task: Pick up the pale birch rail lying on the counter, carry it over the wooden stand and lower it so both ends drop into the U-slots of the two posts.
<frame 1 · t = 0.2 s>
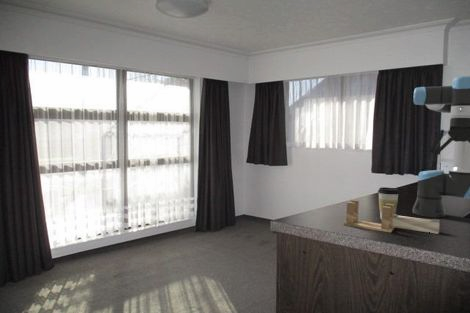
hand: (458, 172, 142), 27 cm above the counter, fingers open, 13 cm apart
wooden stand: (368, 226, 164), on the counter
coffee cup: (387, 219, 180), on the counter
rail: (412, 229, 162), on the counter
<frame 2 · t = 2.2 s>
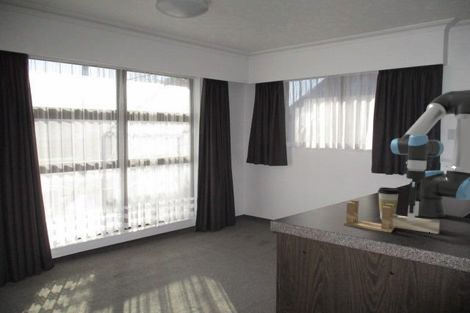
hand: (412, 217, 161), 5 cm above the counter, fingers open, 13 cm apart
nothing on the counter moved.
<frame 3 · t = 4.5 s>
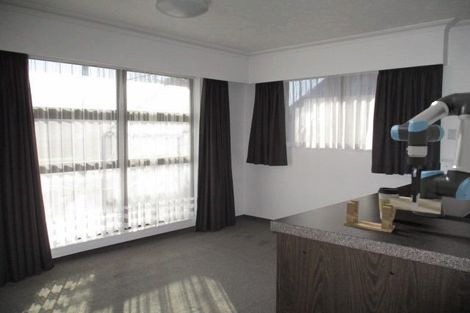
hand: (414, 208, 161), 9 cm above the counter, fingers closed on rail, 4 cm apart
rail: (414, 210, 161), point 8 cm above the counter, touching gripper
everything else where it was.
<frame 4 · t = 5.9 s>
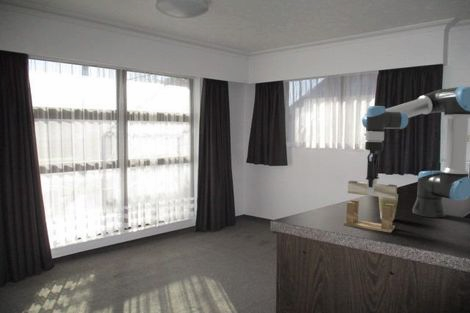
hand: (371, 193, 163), 15 cm above the counter, fingers closed on rail, 4 cm apart
rail: (371, 195, 163), point 14 cm above the counter, touching gripper
everything else where it was.
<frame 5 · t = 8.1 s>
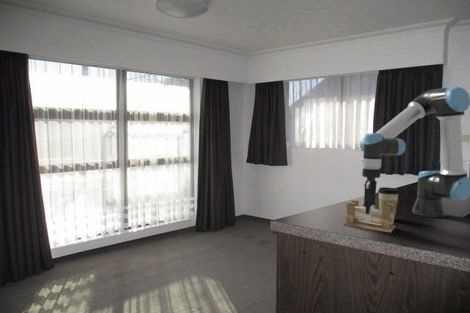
hand: (368, 219, 164), 3 cm above the counter, fingers closed on rail, 4 cm apart
rail: (368, 219, 164), point 3 cm above the counter, touching gripper, wooden stand
everything else where it was.
when the fingers open (3 cm above the counter, at t = 8.1 s): rail stays where it is, resting on wooden stand.
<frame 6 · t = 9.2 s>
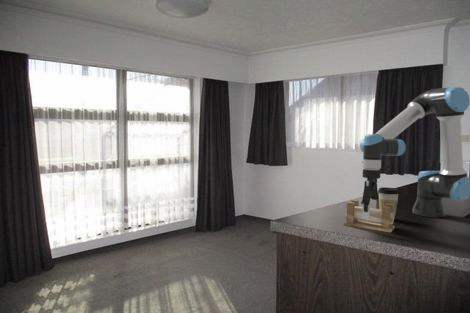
hand: (369, 216, 164), 5 cm above the counter, fingers open, 13 cm apart
rail: (368, 219, 164), point 3 cm above the counter, touching wooden stand
everything else where it was.
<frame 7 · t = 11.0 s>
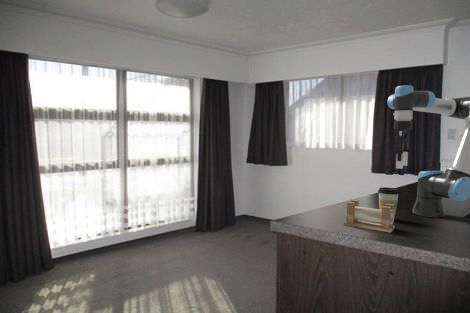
hand: (401, 167, 167), 27 cm above the counter, fingers open, 13 cm apart
nothing on the counter moved.
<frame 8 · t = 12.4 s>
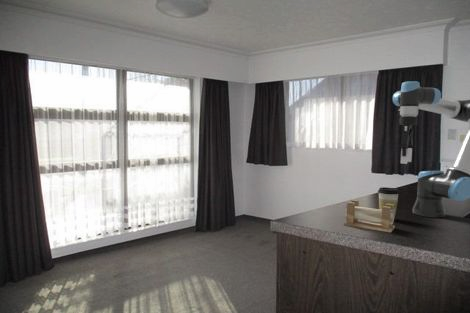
hand: (406, 162, 167), 29 cm above the counter, fingers open, 13 cm apart
nothing on the counter moved.
at the end: rail 0.1 cm off-centre on the wooden stand, point 3.0 cm above the wooden stand's base; the gripper is holding nothing; rail tilted 0° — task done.
